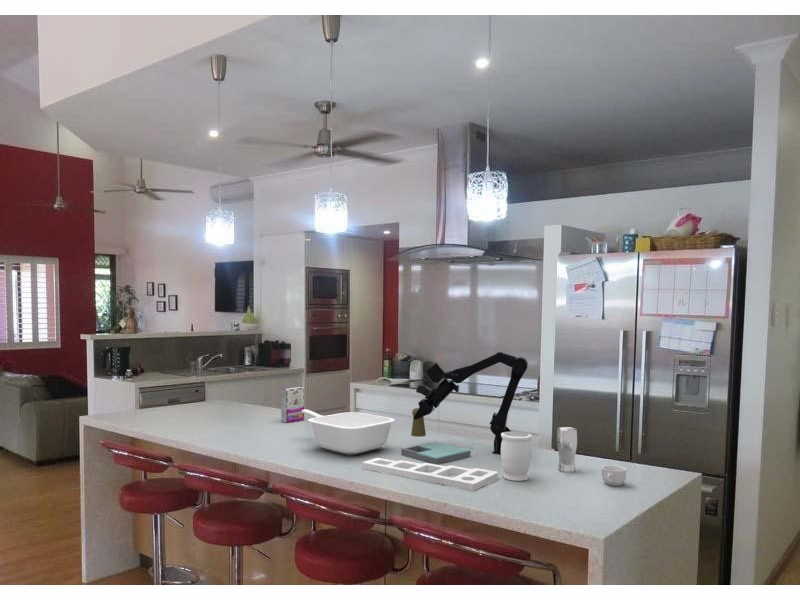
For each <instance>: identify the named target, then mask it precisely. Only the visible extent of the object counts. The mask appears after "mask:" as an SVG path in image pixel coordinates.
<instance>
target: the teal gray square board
mask: <svg viewBox="0 0 800 600" xmlns="http://www.w3.org/2000/svg"><path fill="white" fill-rule="evenodd" d="M400 451H401V452H400V453H401V456H403V457H407V458H410V457H411V459H415V460H419V461H422V462H424V463H430V464H435V465H440V464H445V463H449V462H453V460H454V461H457V460H462V459H466V458H470V457H471V450H470V449H468V448H463V447H460V446H459V447H458V446H456V445H455V446H454V445H451V444H446V443H441V442H439V441H438V442H437V441H433V442H427V443H423V444H418V445H413V446H406V447H403V448H401V449H400ZM469 456H470V457H469Z"/></svg>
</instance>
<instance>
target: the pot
mask: <svg viewBox="0 0 800 600" xmlns="http://www.w3.org/2000/svg"><path fill="white" fill-rule="evenodd" d="M302 413H303V414H304V415H306V416H308V417H311V418H308V419H307V422H308V423H311V425H312V431H313V433H314V439H315V443H317V445H318V447H320V448H321V449H323V450H326V451H330V452H334V453H336V454H340V455H341V454H342V455H345V456H356V455H361V454H365V453H368V452H373V450H374V451H377V450H379V449H381V448H382V447H384V446H385V444H386V443H387V441H388V438H389V437H388V436H389V434H390V429H391V425H392V424H393V423H395V422H396V419H395V418H393V417H387V416H381V415H376V414H370V413H366V412H359V411H357V412H356V411H355V412H354V411H349V412H348V411H347V412H339V413H334V414H328V415H322V414H319V413H317V412H315V411H313V410H310V409H307V408H306V409H305V408H304V410H302Z"/></svg>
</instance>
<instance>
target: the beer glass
mask: <svg viewBox="0 0 800 600" xmlns="http://www.w3.org/2000/svg"><path fill="white" fill-rule="evenodd" d="M577 431H578V430H577V428H575V427H570V426H569V427H568V426H559V427H557V433H556V434H557V435H556V436H557V437H556V444H557V446H556V447H557V451H558V452H557V453H558V466H557V470H558V471H559V472H561V471H562V472H561V473H565V472H573V473H575V472H576V466H575V465H576V464H575V457H576V452H577V447H578V434H577V433H578V432H577Z"/></svg>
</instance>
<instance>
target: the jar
mask: <svg viewBox="0 0 800 600" xmlns="http://www.w3.org/2000/svg"><path fill="white" fill-rule="evenodd" d="M501 437H502V438H503V439H502V443H501V455H500V457H501V465H502V470H503V472H504V473H503V475H502V476H503V478H504V479H505V480H508V481H511V482H512V481H513V482H523V481H527V480H528V479H529V476H528V472H529V469H530V466H531V460H532V443H531V439H532V434H530V433H528V432H522V431H511V432H503V433H501Z"/></svg>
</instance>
